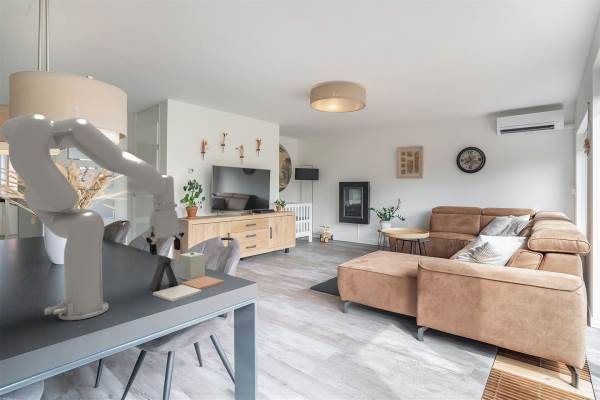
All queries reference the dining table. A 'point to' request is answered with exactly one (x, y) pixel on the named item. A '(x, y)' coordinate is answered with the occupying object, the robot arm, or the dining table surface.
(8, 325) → the dining table surface
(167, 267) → the black a-frame stand
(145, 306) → the dining table surface
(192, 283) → the pad terracotta
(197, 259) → the block
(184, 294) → the pad cream
